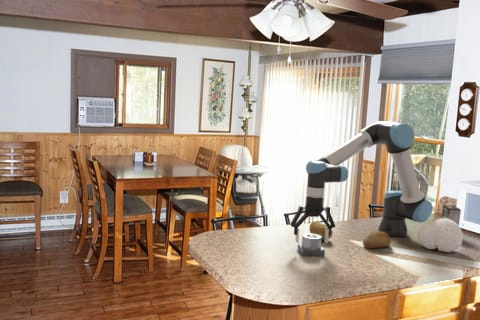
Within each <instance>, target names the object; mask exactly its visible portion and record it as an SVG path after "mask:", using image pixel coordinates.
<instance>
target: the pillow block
mask: <svg viewBox="0 0 480 320" xmlns="http://www.w3.org/2000/svg"><path fill="white" fill-rule="evenodd" d="M309 237H311V238H315V236H314V235H309ZM297 251H298V252H299V254H300V255H301V256H302V257H303V256H308V257H309V256H311V258H312V256H313V257H315V256H316V257H323V258H324V257H325V253H326V250H325V248H324V247H322V246H321V248H320V249H318V250H309V249H306V248H303V247H302V243H297ZM308 257H307V258H308ZM316 257H315V258H316ZM309 258H310V257H309Z"/></svg>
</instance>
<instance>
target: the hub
mask: <svg viewBox="0 0 480 320" xmlns="http://www.w3.org/2000/svg"><path fill="white" fill-rule="evenodd" d="M309 235H314V236H315V238H311V237H309ZM301 238H302V239H301V244H302V247H303V248H306V249H309V250H318V249H320V248H321V247H322V241H323V240H322V237H321V236H320V235H317V234H311V233H304V234H302V236H301Z"/></svg>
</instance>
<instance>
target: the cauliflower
mask: <svg viewBox="0 0 480 320" xmlns="http://www.w3.org/2000/svg"><path fill="white" fill-rule="evenodd" d="M463 235H464V234H463V231H462V228H461V227H460V224H459V225H458V224H457V223H456V222H454V221H452V220H450V219H447V218H443V219H442V217H440V218H438V219H437V218H436V219H435V220H434V221H432V223H431V222H426V223H425V224H423V225H421V226H420V228H419V229H418V230H417V240H418V241H419V243H420V245H421V246H423V247H424V248H425V249H427V250H436V249H437V250H438V252H444V253H452V252H455V251H456V250H458V249H459V248H460V247H461V245H462V243H463V239H464V238H463Z"/></svg>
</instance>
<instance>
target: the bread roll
mask: <svg viewBox="0 0 480 320" xmlns="http://www.w3.org/2000/svg"><path fill="white" fill-rule="evenodd" d="M391 243H392V239H391V236H389V235H388V234H387V233H385V232H382V231H378V230H372V231H369V232H367V234H365V236H364V238H363V241H362V245H363V247H365V248H366V249H376V248H378V249H379V248H385V247H389V246H390V245H391Z"/></svg>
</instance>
